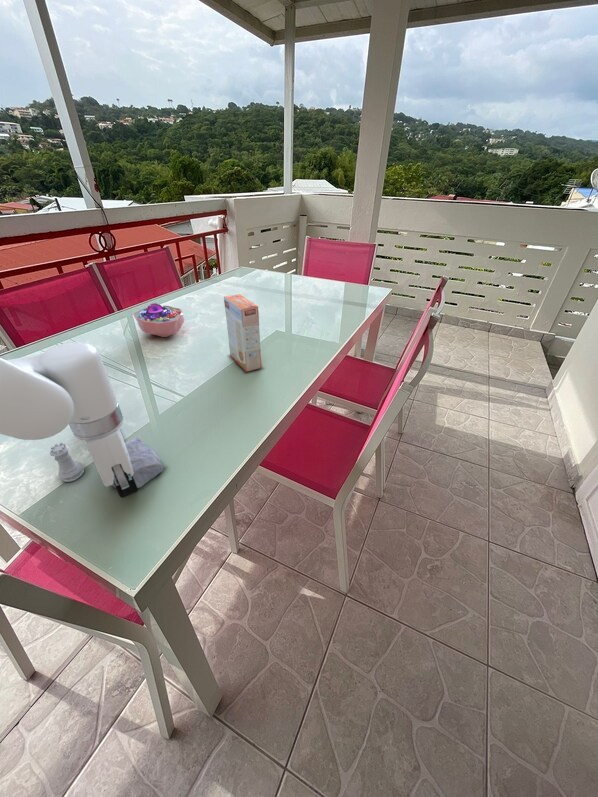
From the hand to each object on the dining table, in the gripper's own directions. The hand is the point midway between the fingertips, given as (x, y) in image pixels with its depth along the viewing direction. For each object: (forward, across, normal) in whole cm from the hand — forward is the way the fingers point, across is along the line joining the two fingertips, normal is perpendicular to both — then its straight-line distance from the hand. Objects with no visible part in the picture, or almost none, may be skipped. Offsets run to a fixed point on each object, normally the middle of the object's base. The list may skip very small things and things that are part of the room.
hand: (128, 491), depth 64 cm
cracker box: (+2, -37, +45) cm, 58 cm away
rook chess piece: (+2, -13, -9) cm, 16 cm away
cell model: (+2, -76, +30) cm, 81 cm away
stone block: (+2, -8, +2) cm, 8 cm away
